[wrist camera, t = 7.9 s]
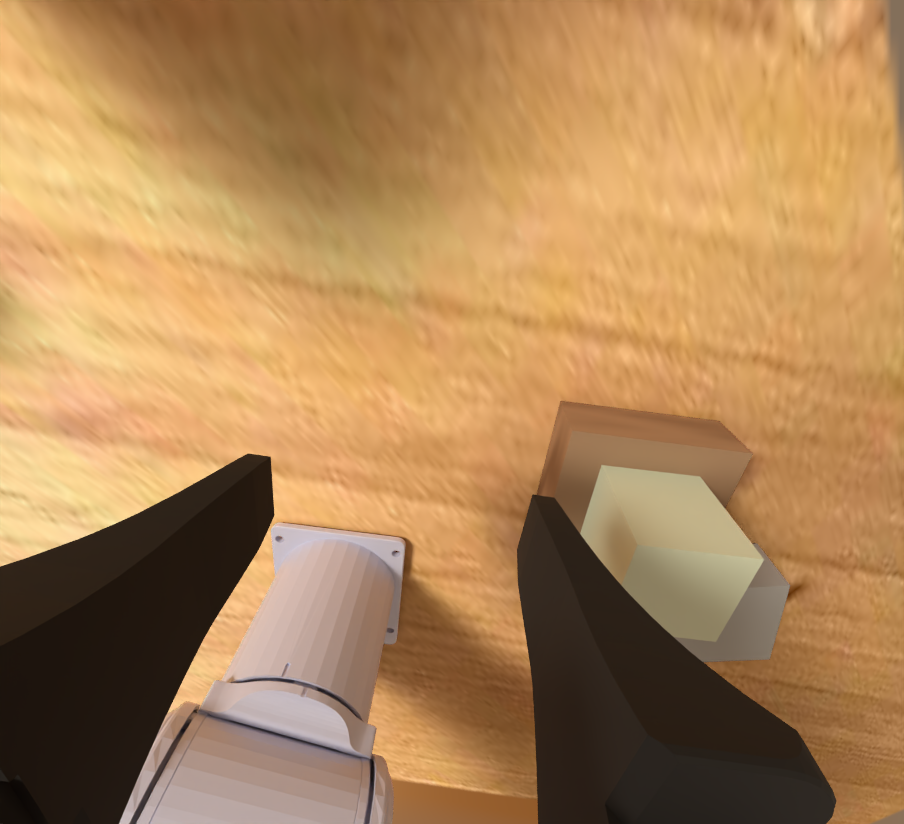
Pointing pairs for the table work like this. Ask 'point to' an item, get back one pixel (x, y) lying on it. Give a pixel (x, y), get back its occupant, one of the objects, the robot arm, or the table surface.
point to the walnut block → (635, 452)
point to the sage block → (671, 548)
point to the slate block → (748, 620)
